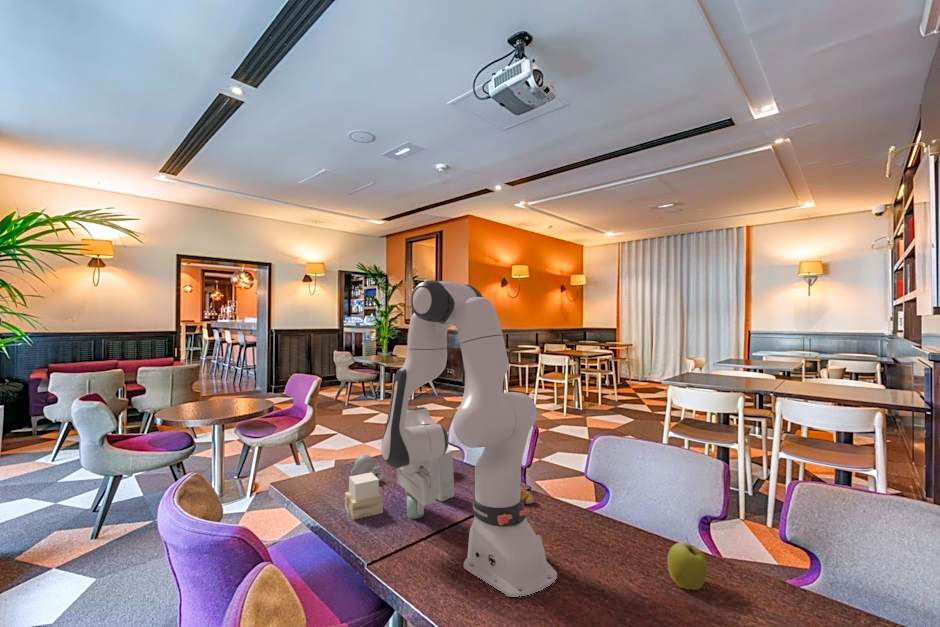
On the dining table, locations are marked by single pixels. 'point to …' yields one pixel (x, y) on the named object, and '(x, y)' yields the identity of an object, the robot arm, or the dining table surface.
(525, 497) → the croissant
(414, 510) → the sage green capsule
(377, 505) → the tower base
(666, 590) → the dining table surface
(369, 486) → the tower top
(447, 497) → the skincare box
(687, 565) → the apple
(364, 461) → the round bodied animal figurine
